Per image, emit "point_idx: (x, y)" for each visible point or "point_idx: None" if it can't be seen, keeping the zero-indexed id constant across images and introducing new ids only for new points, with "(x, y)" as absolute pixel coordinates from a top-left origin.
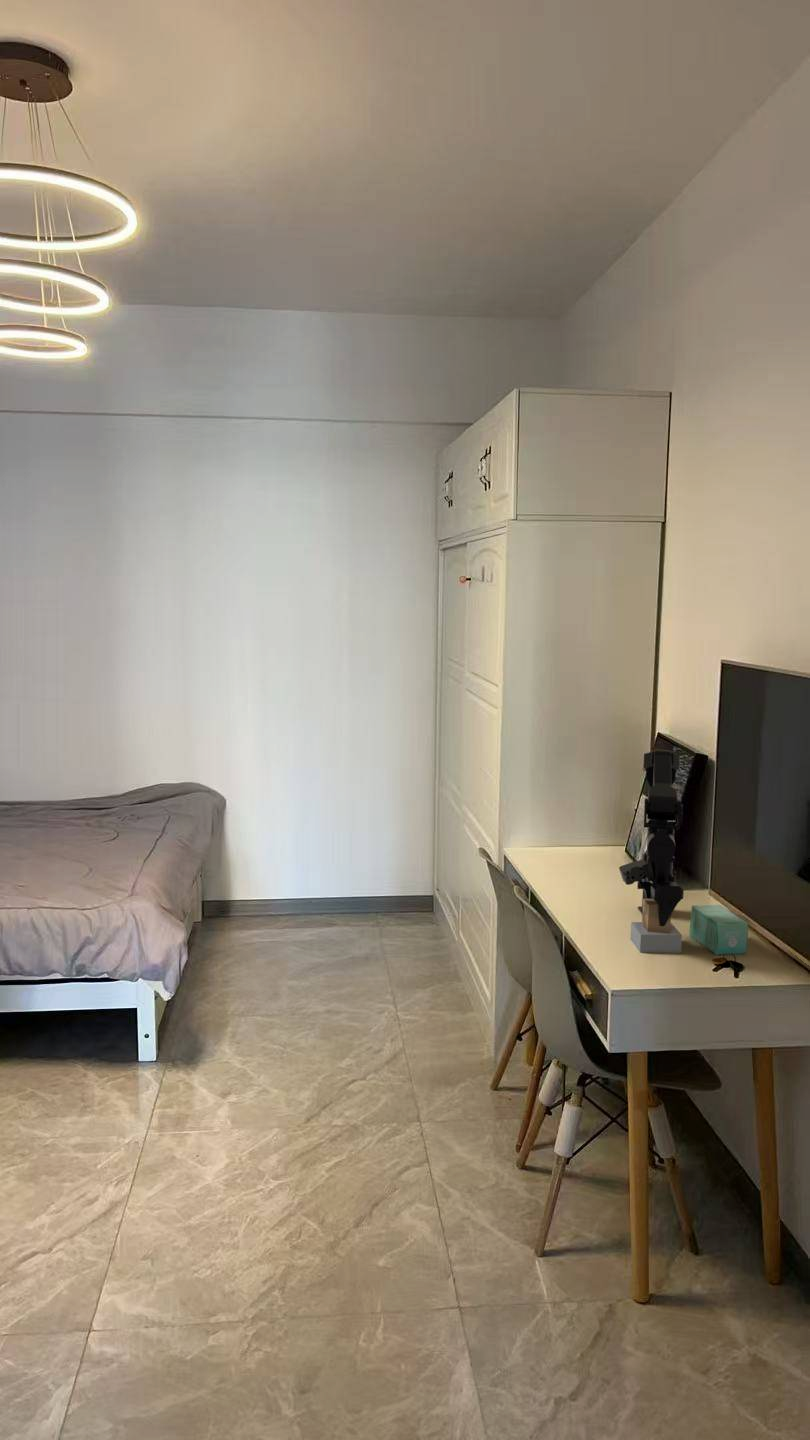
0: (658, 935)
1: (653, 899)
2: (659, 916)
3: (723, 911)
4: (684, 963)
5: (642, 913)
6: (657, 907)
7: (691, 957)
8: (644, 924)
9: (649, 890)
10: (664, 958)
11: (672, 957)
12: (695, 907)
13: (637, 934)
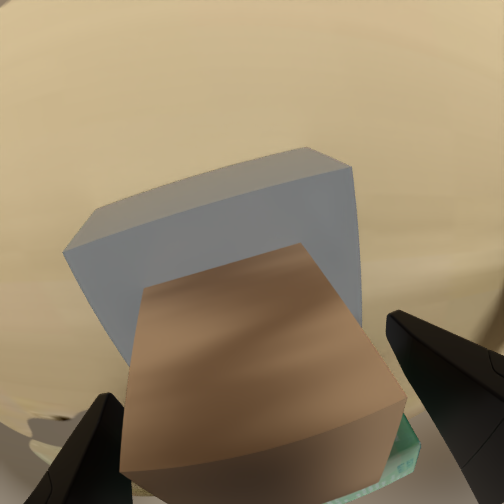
0: (114, 342)
1: (366, 458)
2: (63, 448)
3: (348, 498)
4: (64, 367)
5: (332, 289)
6: (56, 500)
7: None
8: (234, 275)
9: (501, 431)
10: (72, 312)
11: (101, 337)
12: (395, 459)
13: (149, 212)
